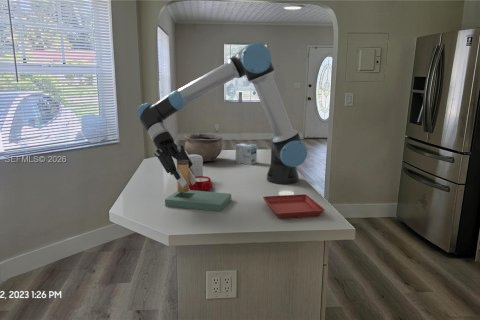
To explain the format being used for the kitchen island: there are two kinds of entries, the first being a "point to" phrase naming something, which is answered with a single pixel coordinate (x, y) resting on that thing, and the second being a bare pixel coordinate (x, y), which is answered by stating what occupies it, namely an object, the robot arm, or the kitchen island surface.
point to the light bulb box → (246, 153)
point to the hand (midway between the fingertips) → (189, 184)
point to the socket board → (199, 200)
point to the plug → (183, 174)
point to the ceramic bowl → (204, 145)
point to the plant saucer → (293, 206)
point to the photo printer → (196, 165)
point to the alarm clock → (201, 184)
